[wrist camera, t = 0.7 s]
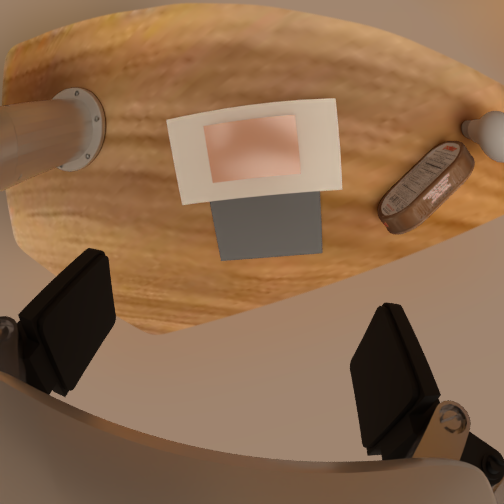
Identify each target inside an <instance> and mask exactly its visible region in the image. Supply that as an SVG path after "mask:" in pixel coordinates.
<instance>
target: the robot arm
mask: <svg viewBox="0 0 504 504" xmlns="http://www.w3.org/2000/svg"><path fill="white" fill-rule="evenodd" d="M104 135H105V116H104V112H103V108H102V106H101V104H100V102H99V100H98V99H97V98H96V96H95V95H94V94H92V93H91V92H90V91H88V90H86V89H84V88H68V89H65V90H63V91H61V92H59V93H58V94H57V95H55V96H54V97H53V99H52V100H42V101H33V102H25V103H18V104H11V105H5V106H0V192H1V191H3V190H5V189H8V188H10V187H12V186H14V185H16V184H18V183H20V182H23V181H25V180H27V179H29V178H32V177H34V176H36V175H39V174H41V173H43V172H46V171H48V170H51V169H53V168H56V167H57V168H58V169H60V170H63V171H70V172H71V171H77V170H79V169H82V168H84V167H85V166H87V165H89V164H90V163H91V162H92V161H93V160H94V159H95V157H96V156H97V155H98V153H99V151H100V149H101V146H102V143H103V140H104ZM19 318H20V321H19V322H18V323H16V321H15V320H14V319H12V318H10V317H6V316H2V317H0V504H504V459H503V457H502V455H501V454H500V453H499V452H498V451H497V450H495V449H494V448H492V447H491V446H489V445H488V444H487V443H485V442H484V441H482V440H481V439H479V438H478V437H477V436H475V435H474V434H472V433H471V432H469V430H470V425H471V422H470V417H469V415H468V413H467V411H466V410H465V409H464V407H462V406H461V405H460V404H458V403H456V402H454V401H449V400H448V401H443V402H441V403H440V402H439V399H438V398H439V397H440V395H441V394H440V392H439V389H438V387H437V384H436V382H435V379H434V377H433V374H432V372H431V369H430V367H429V364H428V362H427V360H426V357H425V355H424V353H423V351H422V348H421V346H420V344H419V342H418V339H417V337H416V335H415V333H414V331H413V329H412V327H411V325H410V323H409V321H408V318H407V316H406V314H405V312H404V310H403V308H402V306H401V305H399V304H393V303H384V304H383V305H382V306H379V307H378V308H377V310H376V312H375V314H374V316H373V318H372V320H371V322H370V324H369V326H368V328H367V331H366V333H365V335H364V337H363V339H362V341H361V342H360V344H359V346H358V348H357V350H356V352H355V354H354V356H353V358H352V360H351V363H350V372H351V377H352V382H353V388H354V394H355V400H356V406H357V412H358V418H359V424H360V431H361V438H362V444H363V447H365V448H367V454H368V455H382V460H381V461H361V462H360V461H359V462H309V461H291V460H279V459H269V458H260V457H252V456H243V455H237V454H230V453H225V452H219V451H213V450H209V449H204V448H199V447H195V446H190V445H186V444H182V443H177V442H174V441H170V440H166V439H163V438H159V437H156V436H152V435H149V434H145V433H142V432H139V431H136V430H133V429H130V428H127V427H124V426H121V425H118V424H115V423H112V422H110V421H107V420H105V419H102V418H100V417H97V416H94V415H92V414H89V413H87V412H85V411H83V410H80V409H78V408H76V407H73V406H71V405H69V404H67V403H65V402H62V401H60V400H58V399H56V398H54V397H52V396H50V395H49V394H50V393H51V391H52V390H53V391H54V392H56V393H58V394H60V395H62V396H64V397H65V396H66V395H67V393H68V391H69V390H70V391H71V390H73V389H74V388H75V386H76V384H77V383H78V381H79V379H80V378H81V376H82V374H83V373H84V371H85V369H86V368H87V366H88V365H89V363H90V361H91V360H92V358H93V357H94V355H95V353H96V352H97V350H98V349H99V347H100V346H101V344H102V342H103V341H104V339H105V338H106V336H107V335H108V333H109V332H110V330H111V329H112V327H113V325H114V323H115V320H116V313H115V307H114V300H113V293H112V285H111V277H110V268H109V259H108V257H107V256H105V253H104V252H103V251H101V250H96V249H92V248H88V249H86V250H85V251H84V252H83V253H82V254H81V255H80V256H78V257H77V258H76V259H75V260H74V261H73V262H72V263H71V264H70V265H68V266H67V267H66V268H65V269H64V270H63V271H62V272H61V273H60V274H59V275H58V276H57V277H56V278H54V279H53V280H52V281H51V282H50V283H49V284H48V285H47V286H46V287H45V288H44V289H43V290H42V291H41V292H40V293H39V294H38V295H37V296H36V297H35V298H34V299H33V300H32V301H31V302H30V303H29V304H28V305H27V306H26V307H25V308H24V309H23V310H22V312H20V314H19Z"/></svg>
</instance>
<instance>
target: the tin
mask: <svg viewBox="0 0 504 504" xmlns="http://www.w3.org/2000/svg"><path fill="white" fill-rule="evenodd" d="M474 164H475V162H474V158H473V157H472V156H471V155H470V153H469V151H468V150H467V148H466V147H465V145H464V144H463V143H462V142H459V141H447V142H444V143H442V144H440V145H438V146H437V147H435V148H434V149H432V150H431V151H430V152H429V153H427V154H426V155H425V156H424V157H423V158H422V159H421V160H420V161H419V162H418V163H417V164H416V165H415V166H414V167H413V168H412V169H411V170H410V171H409V172H408V173H406V174H405V175H404V176H403V177H402V178H401V179H400V180H399V181H398V182H397V183H396V184H395V185H394V186H393V187H392V188H391V189H390V190H389V191H388V192H387V193H386V194H385V196H384V197H383V199H382V200H381V202H380V204H379V206H378V216H379V219H380V220H381V221H382V223H383V224H384V225H385V226H386V227H387V230H388V231H389V232H390V233H392V234H403V233H406V232H409V231H411V230H413V229H414V228H416V227H417V226H419V225H420V224H422V223H423V222H424V221H425V220H426V219H427V218H428V217H429V216H430V215H431V214H432V213H433V212H435V211H436V210H437V209H438V208H439V207H440V206H441V205H442V204H443V203H444V202H445V201H446V200H447V199H448V198H449V197H450V196H451V195H452V194H453V193H454V192H455V191H456V190H457V189H458V188H459V187H460V186H461V185H462V184H463V183H464V182H465V181H466V180H467V179H468V177H469V176H470V175H471V173H472V171H473V168H474Z"/></svg>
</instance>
